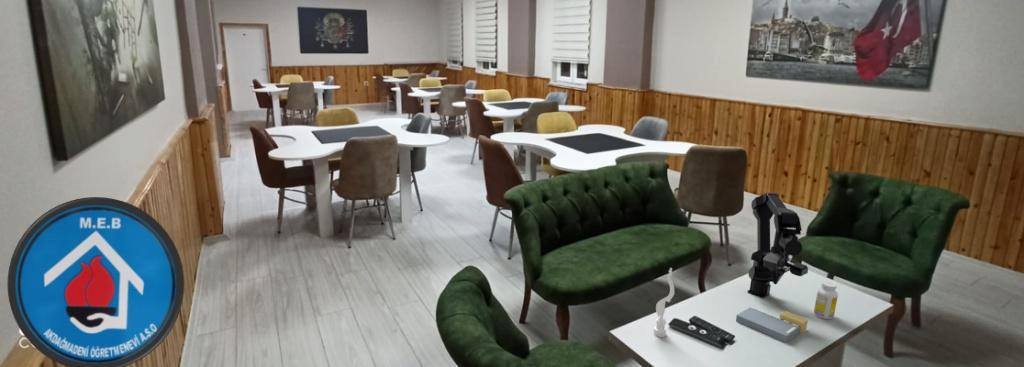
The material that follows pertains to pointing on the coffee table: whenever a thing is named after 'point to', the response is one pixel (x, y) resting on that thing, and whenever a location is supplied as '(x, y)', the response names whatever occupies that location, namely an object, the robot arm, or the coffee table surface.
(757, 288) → the robot arm
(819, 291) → the supplement bottle
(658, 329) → the decorative finial
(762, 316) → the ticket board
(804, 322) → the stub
